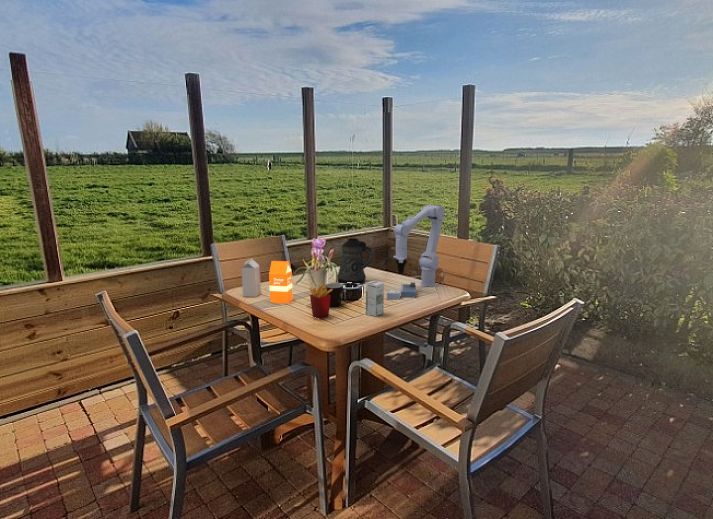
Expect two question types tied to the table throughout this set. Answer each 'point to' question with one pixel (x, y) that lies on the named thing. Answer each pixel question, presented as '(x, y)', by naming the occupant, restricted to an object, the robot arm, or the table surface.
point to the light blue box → (393, 294)
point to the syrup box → (374, 298)
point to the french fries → (320, 301)
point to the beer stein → (353, 261)
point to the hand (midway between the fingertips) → (400, 273)
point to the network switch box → (408, 290)
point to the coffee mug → (335, 294)
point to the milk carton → (251, 279)
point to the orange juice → (280, 282)
